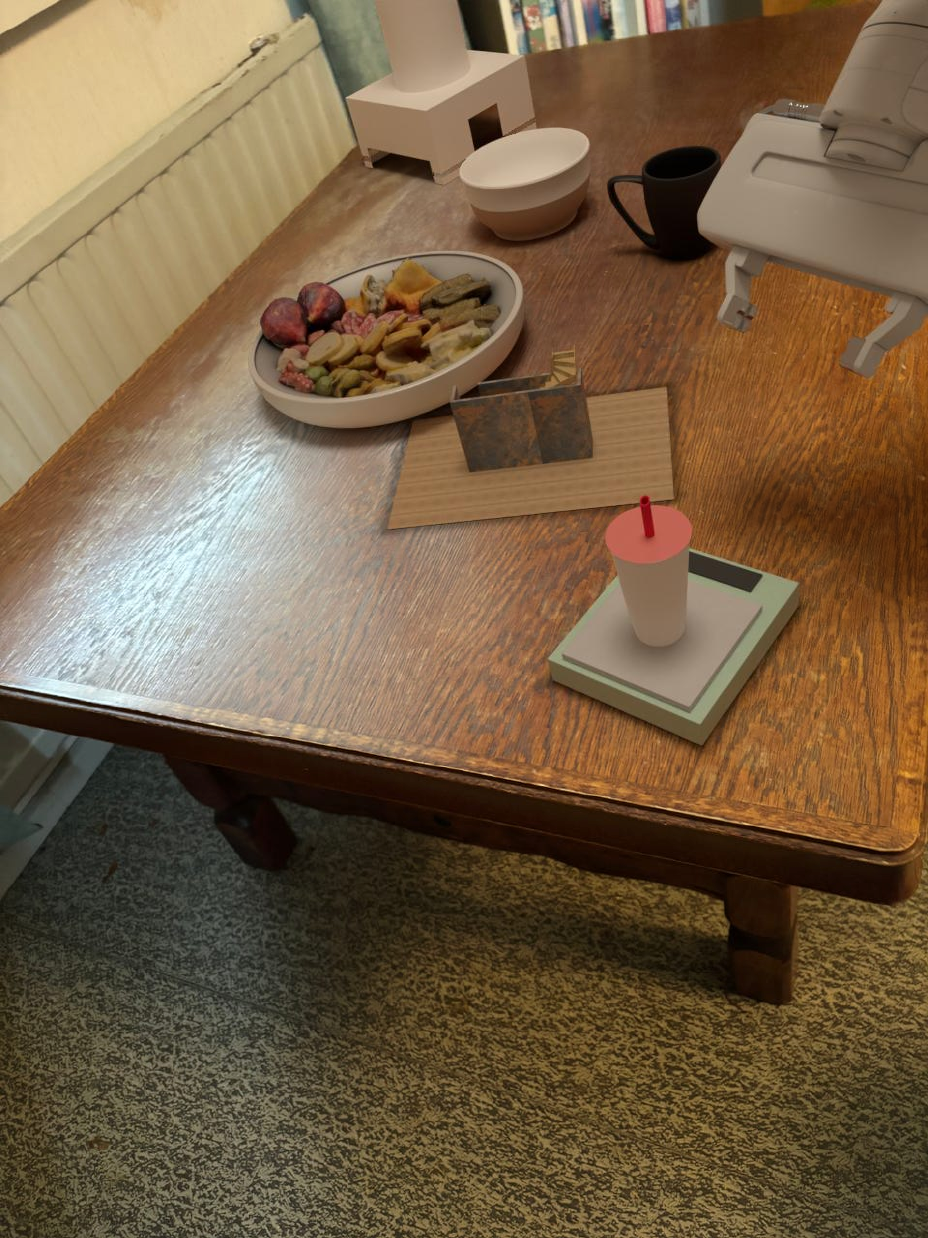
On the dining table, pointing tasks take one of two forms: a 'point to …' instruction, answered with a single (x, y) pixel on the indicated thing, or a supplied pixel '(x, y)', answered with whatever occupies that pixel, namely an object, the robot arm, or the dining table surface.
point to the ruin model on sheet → (535, 451)
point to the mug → (673, 199)
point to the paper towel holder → (435, 88)
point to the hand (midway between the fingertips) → (788, 348)
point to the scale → (679, 647)
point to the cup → (652, 569)
